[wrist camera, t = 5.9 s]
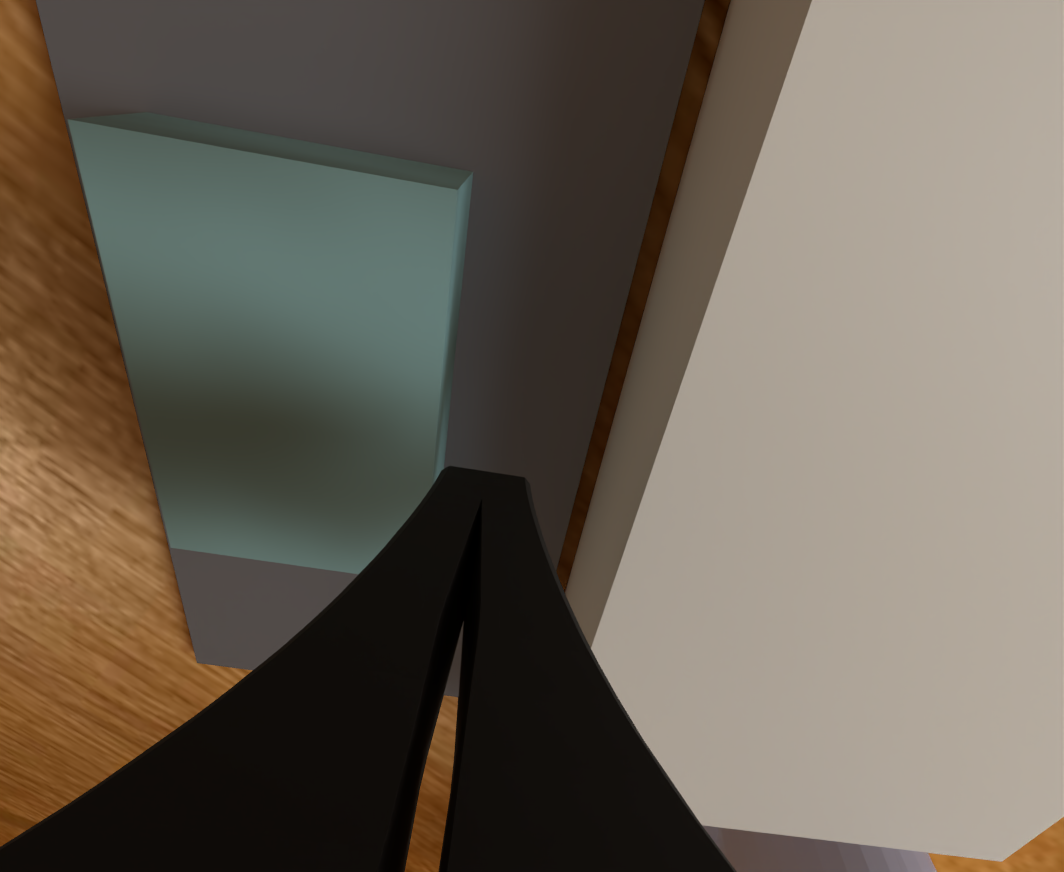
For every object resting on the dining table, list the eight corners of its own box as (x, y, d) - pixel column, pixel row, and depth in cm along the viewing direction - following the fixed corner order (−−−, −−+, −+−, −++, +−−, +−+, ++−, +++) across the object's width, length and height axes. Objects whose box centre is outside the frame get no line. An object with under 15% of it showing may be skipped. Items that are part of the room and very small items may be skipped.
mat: (522, 694, 20) (521, 705, 20) (203, 652, 19) (197, 662, 19) (749, -192, 8) (757, -203, 8) (-32, -367, 8) (-59, -387, 7)
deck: (927, 731, 20) (1001, 861, 17) (540, 679, 20) (537, 805, 16) (1696, -77, 9) (2428, -175, 5) (810, -287, 8) (1002, -557, 4)
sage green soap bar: (170, 547, 14) (213, 495, 15) (423, 583, 14) (437, 528, 16) (67, 119, 9) (147, 111, 10) (457, 190, 9) (473, 172, 11)
